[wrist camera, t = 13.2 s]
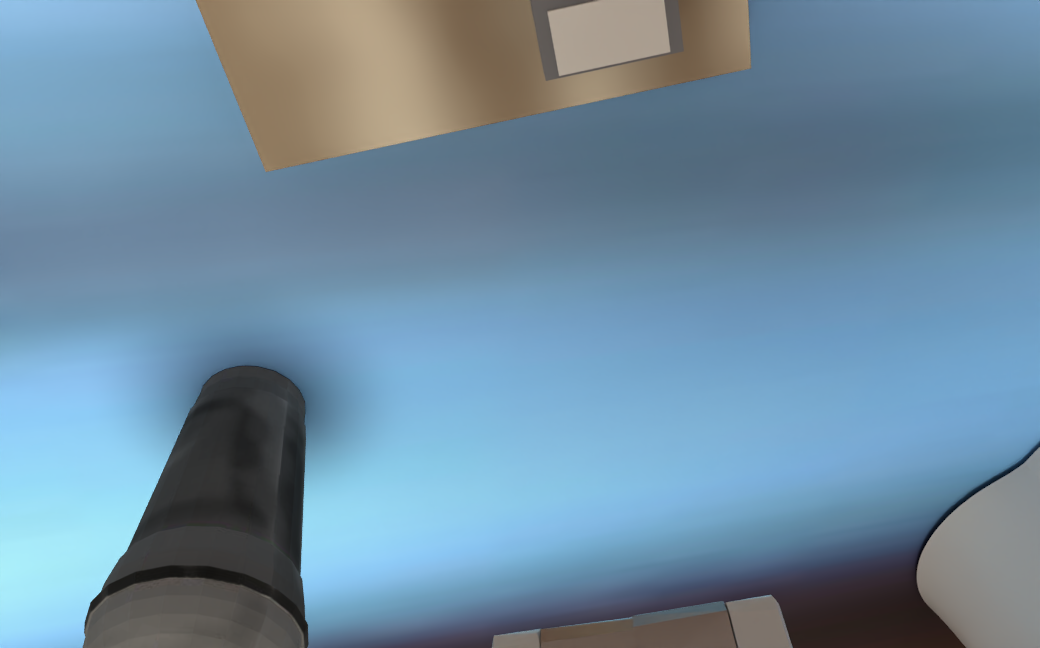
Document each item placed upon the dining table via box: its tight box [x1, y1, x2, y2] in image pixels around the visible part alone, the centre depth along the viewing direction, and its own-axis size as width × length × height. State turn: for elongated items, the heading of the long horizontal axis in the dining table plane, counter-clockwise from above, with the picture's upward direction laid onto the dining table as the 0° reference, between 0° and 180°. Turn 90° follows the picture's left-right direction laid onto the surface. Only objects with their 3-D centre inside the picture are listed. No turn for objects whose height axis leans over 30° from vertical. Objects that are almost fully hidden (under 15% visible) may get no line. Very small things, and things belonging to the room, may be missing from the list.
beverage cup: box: [83, 366, 308, 648], centre depth 33 cm, size 7×7×20 cm
